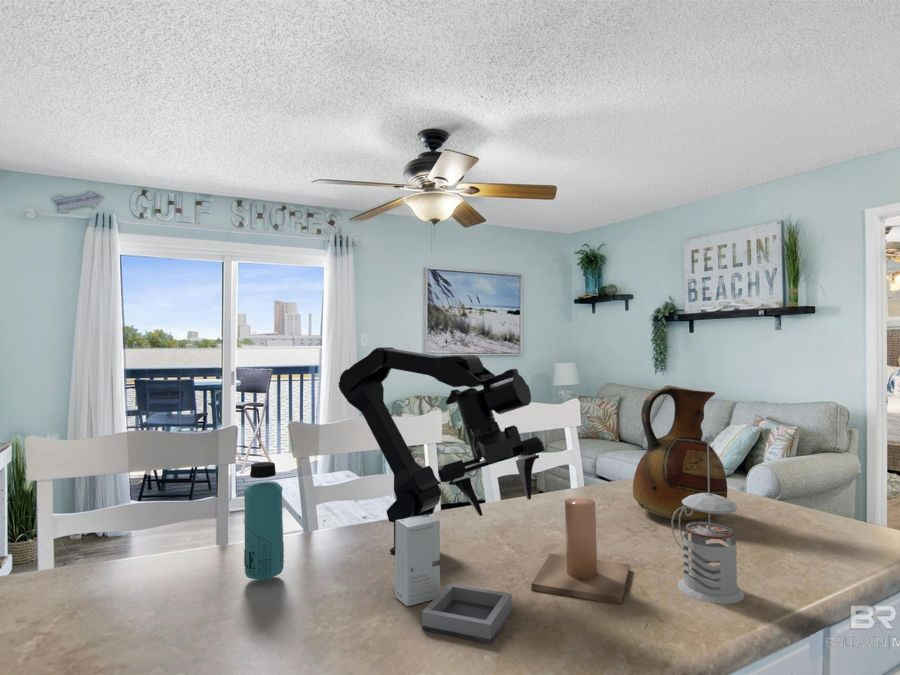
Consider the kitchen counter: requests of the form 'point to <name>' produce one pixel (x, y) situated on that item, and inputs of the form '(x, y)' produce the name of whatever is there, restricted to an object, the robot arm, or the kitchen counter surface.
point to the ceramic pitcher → (677, 458)
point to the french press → (709, 550)
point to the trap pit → (467, 613)
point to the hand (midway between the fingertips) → (505, 507)
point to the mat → (583, 580)
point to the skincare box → (417, 559)
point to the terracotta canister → (581, 538)
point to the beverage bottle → (263, 524)
